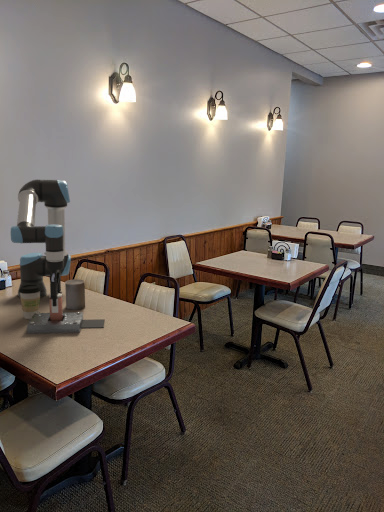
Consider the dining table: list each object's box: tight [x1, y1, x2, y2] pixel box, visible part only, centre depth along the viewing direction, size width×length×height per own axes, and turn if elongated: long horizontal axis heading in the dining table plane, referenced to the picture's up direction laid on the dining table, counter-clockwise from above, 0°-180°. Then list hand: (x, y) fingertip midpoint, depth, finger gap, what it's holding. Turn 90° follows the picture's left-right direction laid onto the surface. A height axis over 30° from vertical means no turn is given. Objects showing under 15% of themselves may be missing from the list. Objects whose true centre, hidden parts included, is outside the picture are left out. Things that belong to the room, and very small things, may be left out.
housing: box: [26, 311, 84, 335], centre depth 185 cm, size 15×22×5 cm
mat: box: [81, 318, 105, 329], centre depth 191 cm, size 10×10×1 cm
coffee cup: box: [18, 284, 41, 320], centre depth 195 cm, size 10×10×15 cm
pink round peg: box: [48, 293, 64, 321], centre depth 184 cm, size 5×5×13 cm
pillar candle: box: [64, 278, 86, 311], centre depth 212 cm, size 10×10×15 cm
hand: (56, 310), depth 185 cm, fingers closed on pink round peg, 5 cm apart
